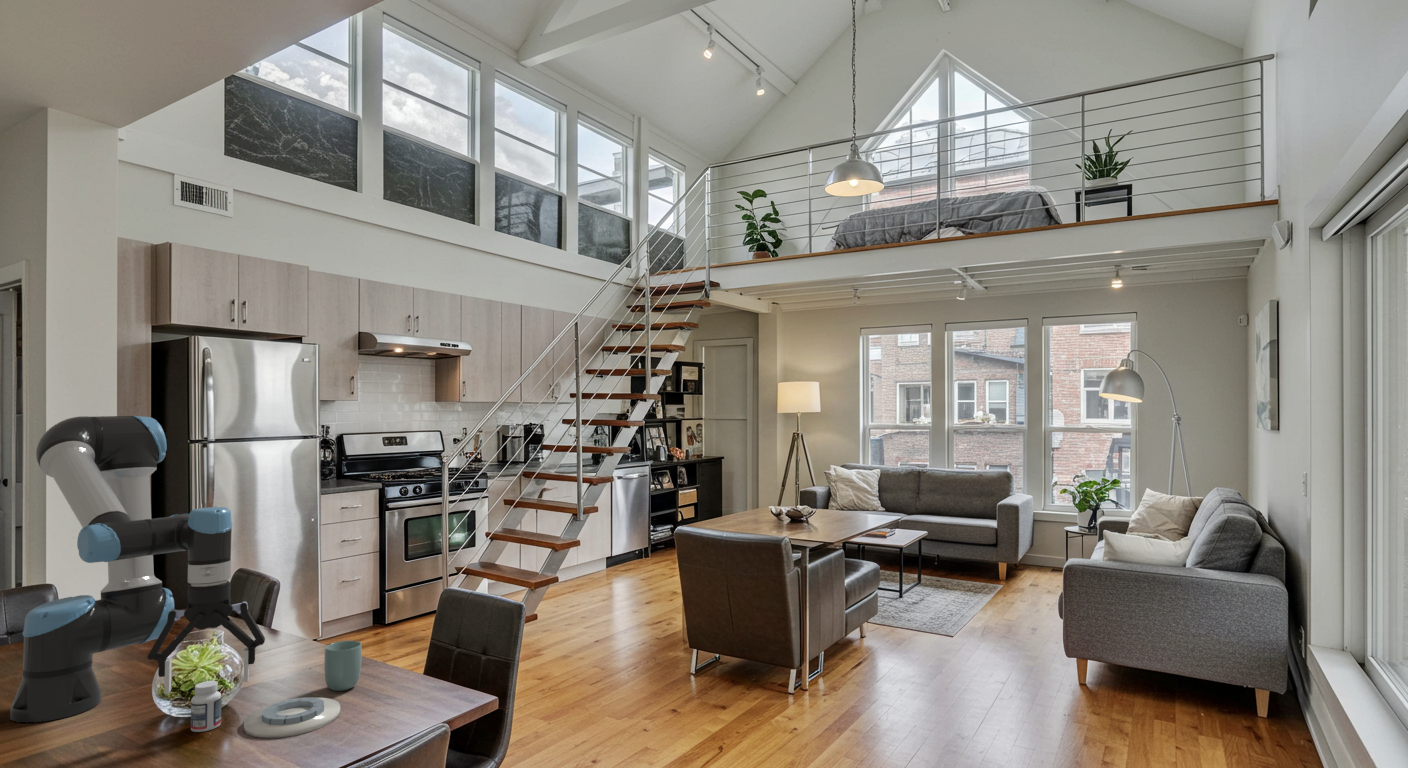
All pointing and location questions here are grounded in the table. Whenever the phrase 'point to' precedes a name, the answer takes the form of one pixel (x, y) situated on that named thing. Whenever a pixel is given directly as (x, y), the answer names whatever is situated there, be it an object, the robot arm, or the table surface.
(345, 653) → the cup
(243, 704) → the table surface
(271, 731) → the tray
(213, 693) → the pill bottle
